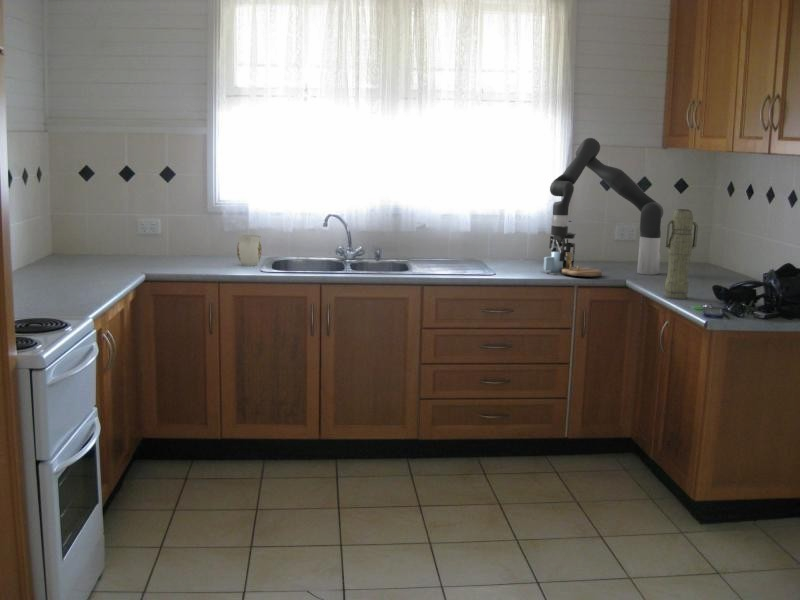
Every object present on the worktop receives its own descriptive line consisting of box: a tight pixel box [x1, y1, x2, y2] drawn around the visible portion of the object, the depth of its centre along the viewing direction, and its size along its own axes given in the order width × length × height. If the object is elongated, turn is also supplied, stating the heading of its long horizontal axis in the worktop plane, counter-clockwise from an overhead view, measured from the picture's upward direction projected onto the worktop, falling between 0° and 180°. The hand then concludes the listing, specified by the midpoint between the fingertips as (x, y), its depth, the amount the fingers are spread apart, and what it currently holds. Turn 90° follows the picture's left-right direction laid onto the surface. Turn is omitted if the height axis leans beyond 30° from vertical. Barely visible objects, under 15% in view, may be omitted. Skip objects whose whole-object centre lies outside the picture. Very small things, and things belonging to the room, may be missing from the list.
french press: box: [556, 219, 577, 268], centre depth 418 cm, size 12×9×23 cm
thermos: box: [664, 208, 699, 300], centre depth 345 cm, size 9×12×35 cm
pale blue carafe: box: [542, 250, 563, 273], centre depth 402 cm, size 10×6×9 cm, turn 117°
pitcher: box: [236, 234, 262, 267], centre depth 398 cm, size 11×18×14 cm, turn 7°
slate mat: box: [540, 269, 565, 276], centre depth 404 cm, size 10×10×1 cm
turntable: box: [562, 251, 603, 277], centre depth 397 cm, size 18×18×8 cm
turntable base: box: [571, 275, 592, 278], centre depth 398 cm, size 9×9×1 cm
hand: (557, 259), depth 402 cm, fingers open, 8 cm apart
